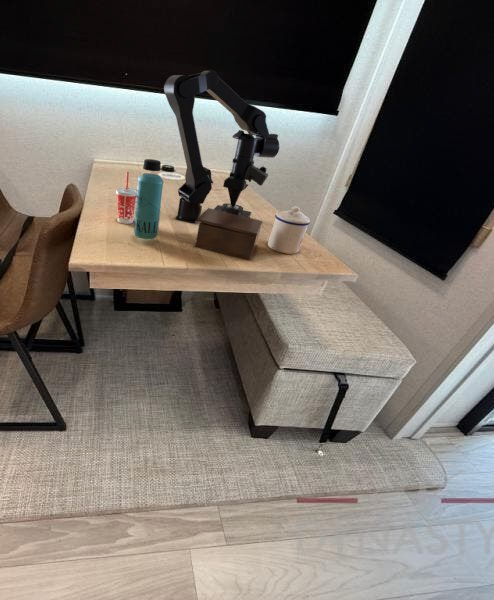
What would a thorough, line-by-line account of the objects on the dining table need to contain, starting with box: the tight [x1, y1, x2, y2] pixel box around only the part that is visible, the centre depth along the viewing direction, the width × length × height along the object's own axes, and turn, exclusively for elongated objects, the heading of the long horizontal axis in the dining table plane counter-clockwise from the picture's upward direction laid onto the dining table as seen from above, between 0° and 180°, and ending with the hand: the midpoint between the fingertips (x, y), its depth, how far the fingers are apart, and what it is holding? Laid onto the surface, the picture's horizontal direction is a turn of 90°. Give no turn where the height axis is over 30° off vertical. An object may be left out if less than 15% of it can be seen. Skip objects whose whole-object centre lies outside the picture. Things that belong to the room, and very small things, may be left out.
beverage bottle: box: [133, 158, 164, 240], centre depth 81 cm, size 6×7×20 cm
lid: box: [196, 207, 263, 236], centre depth 86 cm, size 15×12×1 cm
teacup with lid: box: [267, 205, 311, 255], centre depth 91 cm, size 12×9×12 cm
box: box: [195, 222, 263, 261], centre depth 88 cm, size 15×12×6 cm
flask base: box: [213, 202, 252, 218], centre depth 111 cm, size 12×10×4 cm
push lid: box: [227, 203, 240, 209], centre depth 110 cm, size 4×4×2 cm
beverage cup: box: [115, 171, 137, 225], centre depth 94 cm, size 6×6×14 cm
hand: (232, 206), depth 110 cm, fingers closed, pressing on push lid
